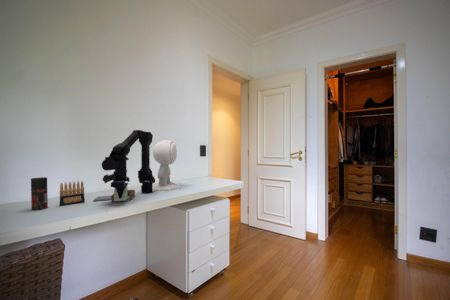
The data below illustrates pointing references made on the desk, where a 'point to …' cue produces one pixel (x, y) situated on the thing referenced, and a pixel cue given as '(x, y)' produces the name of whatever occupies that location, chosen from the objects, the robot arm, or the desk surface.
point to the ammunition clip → (71, 194)
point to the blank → (124, 196)
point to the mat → (102, 198)
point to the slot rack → (130, 193)
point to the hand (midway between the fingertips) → (121, 197)
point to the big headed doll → (165, 164)
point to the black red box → (39, 193)
